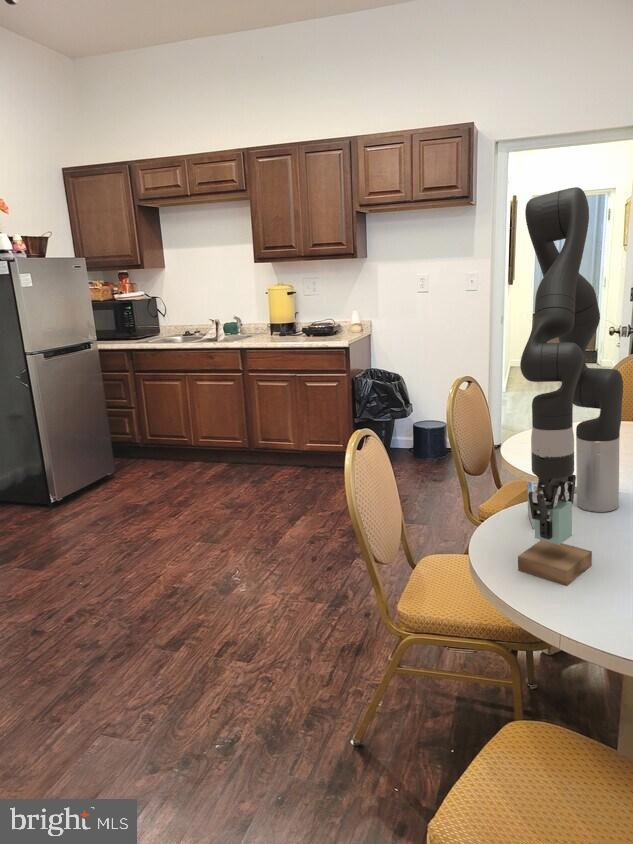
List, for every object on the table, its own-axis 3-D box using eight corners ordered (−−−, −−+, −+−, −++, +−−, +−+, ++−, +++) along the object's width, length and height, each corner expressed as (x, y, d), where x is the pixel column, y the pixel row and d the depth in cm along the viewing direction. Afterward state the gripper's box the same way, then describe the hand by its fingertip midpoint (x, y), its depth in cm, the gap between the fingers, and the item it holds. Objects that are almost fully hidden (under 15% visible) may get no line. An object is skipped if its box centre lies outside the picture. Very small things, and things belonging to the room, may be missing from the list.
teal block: (547, 529, 122) (547, 496, 120) (571, 535, 118) (571, 502, 116) (534, 538, 119) (534, 504, 117) (559, 544, 115) (558, 510, 113)
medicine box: (553, 529, 136) (552, 492, 134) (532, 529, 137) (531, 493, 135) (547, 515, 144) (546, 480, 142) (527, 515, 145) (526, 481, 143)
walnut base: (543, 551, 127) (543, 538, 126) (591, 565, 119) (591, 551, 118) (518, 570, 120) (517, 556, 120) (567, 585, 113) (566, 571, 112)
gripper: (552, 437, 121) (553, 516, 125) (513, 456, 112) (515, 541, 116) (590, 442, 116) (589, 525, 120) (552, 462, 107) (553, 551, 111)
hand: (553, 532), depth 118 cm, fingers closed on teal block, 5 cm apart
